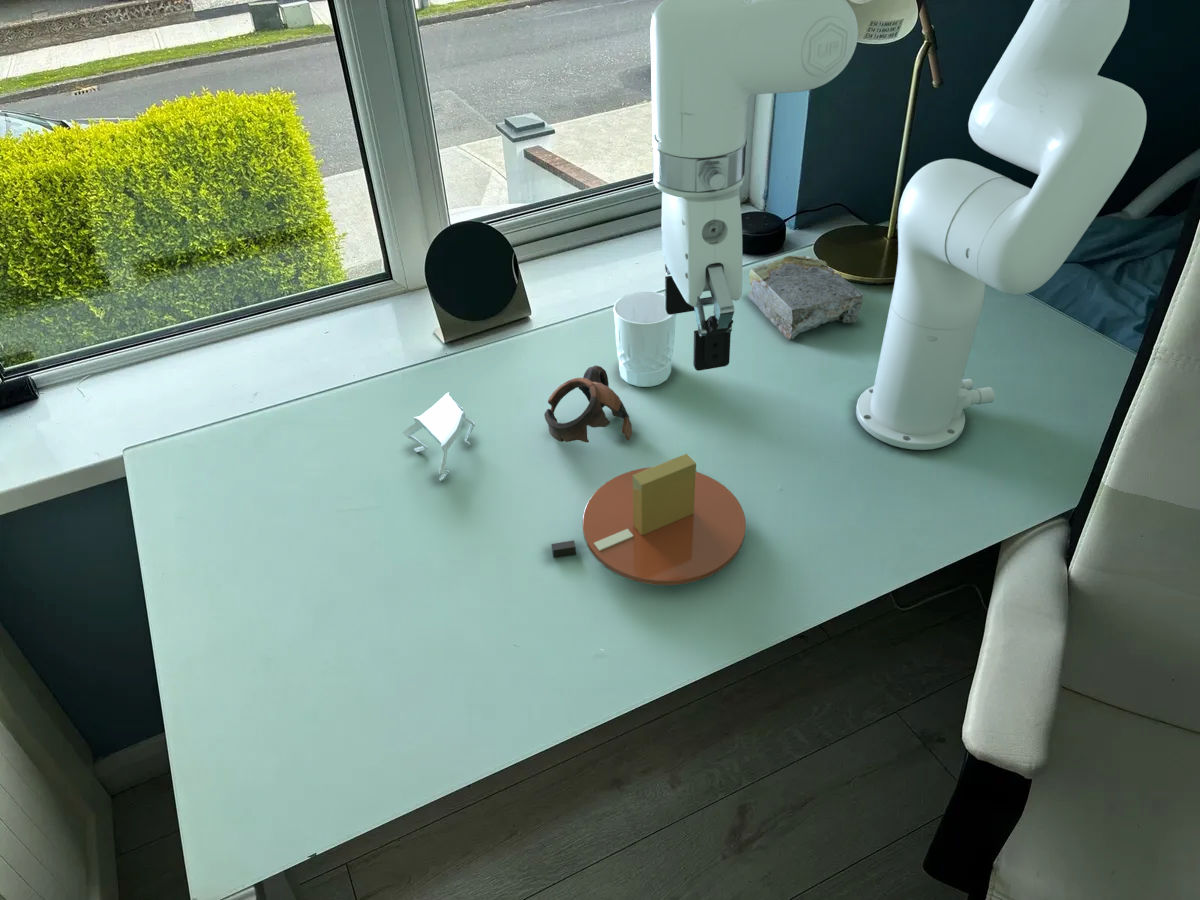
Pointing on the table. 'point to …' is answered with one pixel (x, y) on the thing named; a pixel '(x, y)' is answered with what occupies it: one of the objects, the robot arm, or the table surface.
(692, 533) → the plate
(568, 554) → the dark grey rectangular block
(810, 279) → the geological specimen
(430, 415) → the origami figure
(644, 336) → the white cup
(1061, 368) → the table surface
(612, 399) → the pottery mug
